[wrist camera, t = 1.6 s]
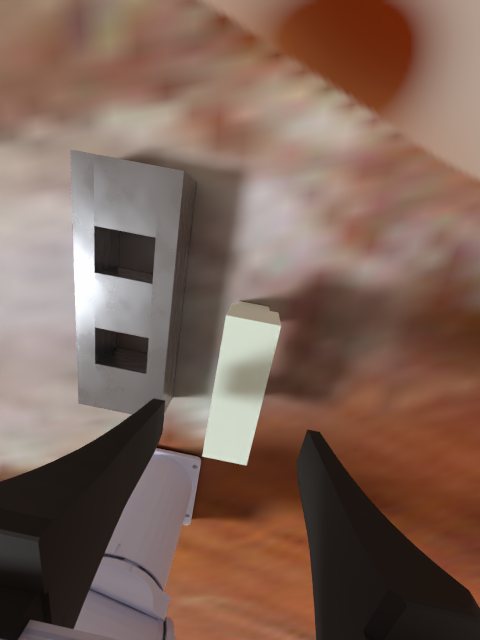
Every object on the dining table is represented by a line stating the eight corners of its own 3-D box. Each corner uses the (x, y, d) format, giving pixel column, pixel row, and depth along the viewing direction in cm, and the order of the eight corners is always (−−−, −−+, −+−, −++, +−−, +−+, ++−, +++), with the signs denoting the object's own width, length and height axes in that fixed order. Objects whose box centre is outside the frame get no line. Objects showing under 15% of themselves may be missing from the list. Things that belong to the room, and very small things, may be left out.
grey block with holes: (172, 397, 24) (160, 420, 21) (100, 383, 24) (78, 403, 21) (196, 181, 18) (183, 170, 15) (100, 163, 18) (70, 149, 15)
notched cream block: (250, 404, 23) (246, 465, 17) (217, 397, 23) (202, 456, 17) (275, 297, 20) (281, 325, 14) (237, 290, 20) (226, 315, 14)
